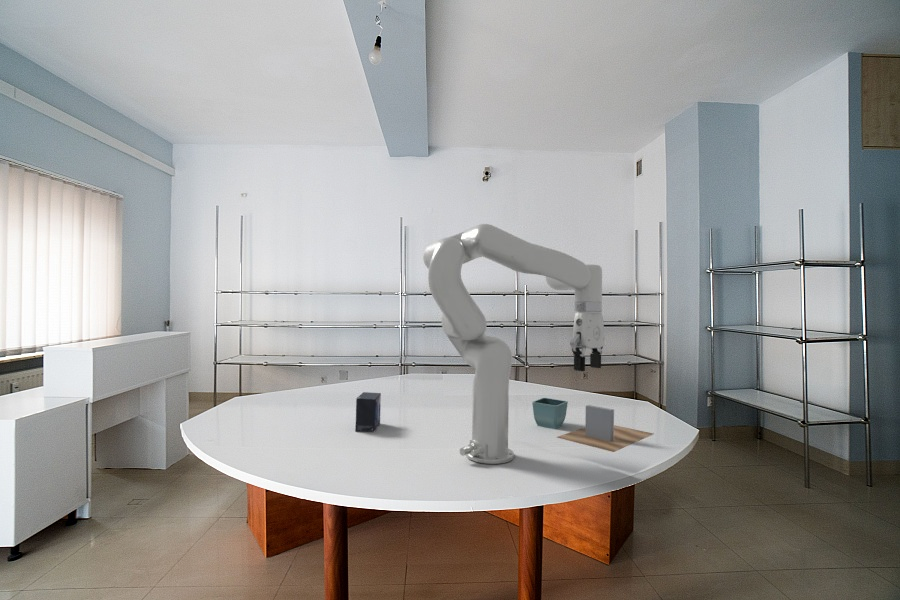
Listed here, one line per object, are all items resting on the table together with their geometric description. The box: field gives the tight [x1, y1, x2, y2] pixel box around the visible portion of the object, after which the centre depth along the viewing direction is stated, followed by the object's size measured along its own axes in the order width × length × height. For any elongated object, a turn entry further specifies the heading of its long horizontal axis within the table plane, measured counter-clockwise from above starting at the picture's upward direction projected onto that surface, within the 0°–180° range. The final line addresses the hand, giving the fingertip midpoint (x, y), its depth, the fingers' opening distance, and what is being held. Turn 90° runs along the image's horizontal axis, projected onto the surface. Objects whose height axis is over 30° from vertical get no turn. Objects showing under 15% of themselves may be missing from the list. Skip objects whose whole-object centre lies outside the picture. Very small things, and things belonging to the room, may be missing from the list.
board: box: [556, 424, 654, 453], centre depth 141 cm, size 26×18×1 cm
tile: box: [585, 404, 615, 442], centre depth 138 cm, size 2×8×9 cm, turn 44°
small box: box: [354, 391, 382, 433], centre depth 151 cm, size 11×6×10 cm, turn 179°
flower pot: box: [532, 397, 569, 429], centre depth 152 cm, size 9×9×9 cm
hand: (587, 368), depth 133 cm, fingers open, 8 cm apart
